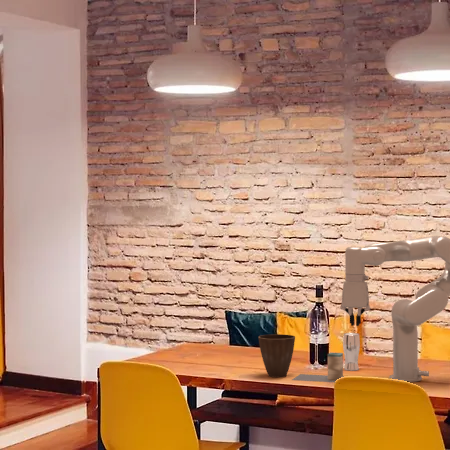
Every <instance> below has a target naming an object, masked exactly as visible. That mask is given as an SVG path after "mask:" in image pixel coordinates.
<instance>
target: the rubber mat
mask: <svg viewBox="0 0 450 450" xmlns="http://www.w3.org/2000/svg"><path fill="white" fill-rule="evenodd" d="M343 377H344V375H343ZM291 381H301V382H302V381H303V382H320V383H321V382H322V383H336V382H335V381H336V380H328V374H325V375H324V374H323V375H322V374H308V373H307V374H305V373H304V374H303V373H300V374H298V375H297V376H296V377H294V378H293V379H291Z"/></svg>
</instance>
